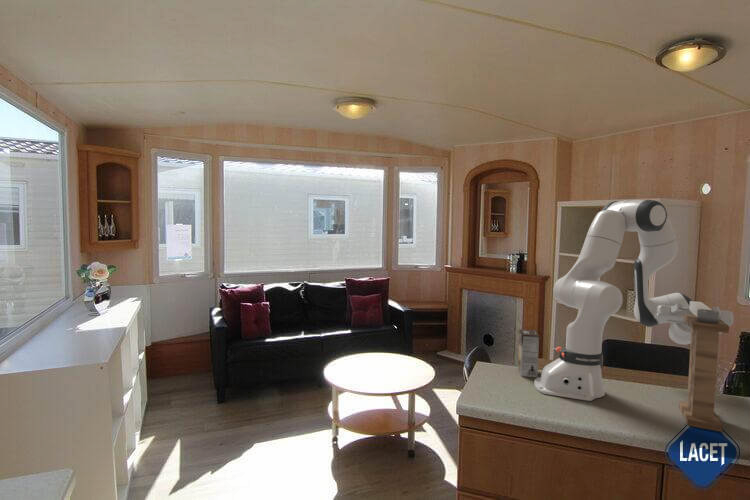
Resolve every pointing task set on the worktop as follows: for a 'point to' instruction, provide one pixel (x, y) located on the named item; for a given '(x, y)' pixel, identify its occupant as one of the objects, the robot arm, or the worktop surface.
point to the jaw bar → (704, 312)
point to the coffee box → (528, 353)
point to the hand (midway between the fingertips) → (697, 307)
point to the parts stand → (702, 374)
